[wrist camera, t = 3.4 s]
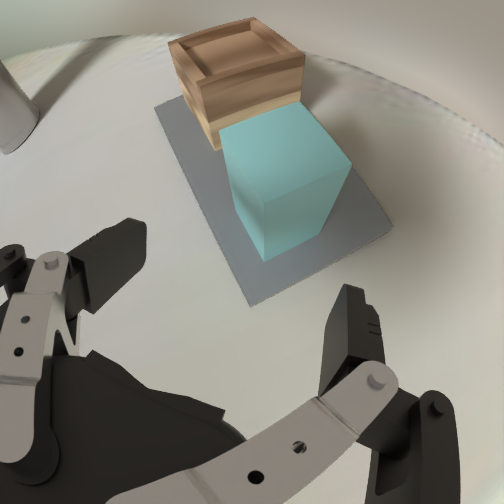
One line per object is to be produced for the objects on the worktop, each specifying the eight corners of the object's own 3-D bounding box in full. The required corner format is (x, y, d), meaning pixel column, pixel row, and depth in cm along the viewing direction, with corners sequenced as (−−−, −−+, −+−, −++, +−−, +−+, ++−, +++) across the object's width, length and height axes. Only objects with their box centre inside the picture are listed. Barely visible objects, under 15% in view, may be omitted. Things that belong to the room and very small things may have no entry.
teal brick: (235, 210, 24) (218, 130, 14) (288, 185, 24) (299, 101, 15) (263, 262, 22) (263, 203, 13) (318, 234, 23) (352, 164, 13)
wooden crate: (184, 99, 28) (167, 42, 20) (256, 73, 29) (253, 17, 21) (215, 151, 25) (199, 86, 18) (297, 119, 26) (305, 55, 19)
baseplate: (156, 113, 29) (153, 107, 28) (263, 72, 30) (263, 66, 29) (250, 307, 22) (249, 306, 21) (389, 230, 24) (393, 226, 23)
